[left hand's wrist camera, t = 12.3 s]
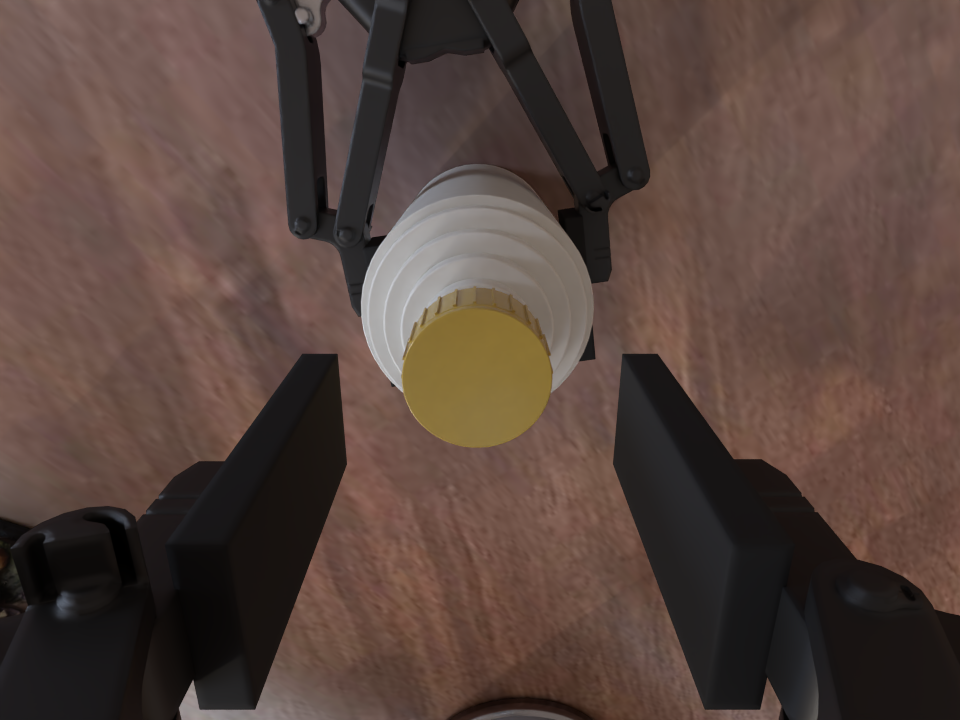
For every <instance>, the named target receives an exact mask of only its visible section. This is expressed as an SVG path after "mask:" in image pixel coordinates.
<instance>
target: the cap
mask: <svg viewBox="0 0 960 720" xmlns="http://www.w3.org/2000/svg"><path fill="white" fill-rule="evenodd" d="M549 356H551V353H550V350H549V347H548V343H547V340H546V337H545V334H542V330H541V327H540V323H539V320H538V318H536V319H535V317H534V316H533V315H532V313H531V312H530V311H529V310H528V306H527V305H526V304H525V305H523V304H522V303H521V302H519V301H518V300H516V299H515V298H513V295H512V294H510V295H508V294H505V293H503V292H500V291H497V290H495V288H492V289H488V288H476V286H473V288H466V289H461V290H458V289H455V291H454V292H451V293H449V294H447V295H445V296H443V297H441V296H439V297H438V299H437V301H435V302H434V303H432V304H431V305H430V306H429V307H428V308H426V307H425V308H424V311H423V314H422V315H421V316H420V318H419V320H418V321H417V322H414V325H413V328H412V331H411V334H410V338H409V339H408V342H407V345H406V348H405V351H404V355H403V358H402V360H404V363H403V368H402V375H401V378H402V387H403V393H404V396H405V400H406V402H407V404H408V406H409V409H410V410H411V412H412V414H413V415H414V417H415V418H416V419H417V420H418V421H419V423H420V424H421V425H422V426H423V427H424V428H426V429H427V430H428V431H429V432H431V433H432V434H433V435H435V436H437V437H438V438H440V439H442V440H444V441H447V442H449V443H452V444H455V445H459V446H465V447H477V448H480V447H490V446H495V445H499V444H502V443H505V442H508V441H510V440H512V439H514V438H516V437H518V436H519V435H521V434H522V433H524V432H525V431H526V430H528V429H529V428H530V427H531V426H532V425H533V424H534V423H535V422H536V421H537V419H538V418H539V417H540V415H541V414H542V413H543V411H544V409H545V407H546V405H547V403H548V400H549V397H550V393H551V389H552V379H553V378H552V374H553V369H552V366H551V362H550V358H549Z"/></svg>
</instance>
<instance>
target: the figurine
mask: <svg viewBox="0 0 960 720" xmlns="http://www.w3.org/2000/svg"><path fill="white" fill-rule="evenodd" d="M29 530H31V529H28V528H25V527H22V526H19V525H16V524H13V523H10V522H6V521H3V520H0V618H5V617H10V616H14V615H18V614H22V613H25V611H26V609H27V607H28V604H27V601H26V598H25V595H24V592H23V589H22V586H21V582H20V579H19V576H18V573H17V570H16V567H15V564H14V560H13V557H12V554H11V551H10V548H11V547H12V546H13V545H14V544H15V543H16V541H17V540H18V539H19V538H20V537H21V536H22V535H23V534H25V533H26V532H28V531H29Z"/></svg>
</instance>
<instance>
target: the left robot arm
mask: <svg viewBox="0 0 960 720" xmlns="http://www.w3.org/2000/svg"><path fill="white" fill-rule="evenodd" d="M346 465H347V459H346V448H345V436H344V424H343V412H342V401H341V389H340V377H339V365H338V354H302V355H301V357H300V358H299V359H298V361H297V362H296V364H295V365H294V366H293V368H292V369H291V370H290V372H289V373H288V375H287V376H286V377H285V379H284V380H283V382H282V383H281V384H280V386H279V387H278V388H277V390H276V391H275V393H274V394H273V395H272V397H271V398H270V400H269V401H268V402H267V404H266V405H265V406H264V408H263V409H262V411H261V412H260V413H259V415H258V416H257V417H256V419H255V420H254V422H253V423H252V424H251V426H250V427H249V429H248V430H247V431H246V433H245V434H244V435H243V437H242V438H241V440H240V441H239V442H238V444H237V445H236V447H235V448H234V449H233V451H232V452H231V453H230V455H229V456H228V458H227V459H226V460H225V461H199V462H197V463H196V464H194V465H192V466H191V467H189V468H188V469H186V470H185V471H183V472H181V473H180V474H178V475H177V476H175V477H174V478H173V479H172V480H171V481H170V483H169V484H168V485H167V486H166V487H165V489H164V490H163V491H162V492H161V493H160V495H159V499H156V500H155V501H154V502H153V503H152V504H151V506H150V507H149V508H148V509H147V510H146V515H142V516H141V518H140V519H139V520H138V521H137V522H136V519H135V516H133V515H132V514H131V513H129V512H128V511H127V510H126V509H121V508H116V507H110V506H104V507H88V508H83V509H79V510H75V511H71V512H67V513H63V514H61V515H59V516H56V517H54V518H51V519H49V520H47V521H44V522H42V523H40V524H38V525H37V526H35V527H34V528H32V529H31V530H29V531H28V532H26V533H25V534H23V535H22V536H21V537H20V538H19V539H18V540H17V541H16V543H15V544H14V545H13V546H12V547H11V548H10V551H11V554H12V557H13V560H14V564H15V567H16V570H17V573H18V576H19V579H20V582H21V586H22V589H23V592H24V595H25V598H26V601H27V604H28V607H27V609H26V611H25V613H22V614H18V615H14V616H10V617H5V618H0V720H181V716H180V711H179V706H180V704H181V702H182V700H183V698H184V696H185V694H186V692H187V690H188V688H189V686H190V685H191V683H192V681H193V680H194V685H195V689H196V694H197V699H198V704H199V708H200V710H255V708H256V706H257V703H258V700H259V698H260V695H261V692H262V690H263V687H264V684H265V682H266V679H267V676H268V674H269V671H270V668H271V666H272V663H273V660H274V658H275V655H276V652H277V650H278V647H279V644H280V642H281V639H282V636H283V634H284V631H285V628H286V626H287V623H288V620H289V618H290V615H291V612H292V610H293V607H294V604H295V602H296V599H297V596H298V593H299V591H300V588H301V585H302V583H303V580H304V577H305V575H306V572H307V569H308V567H309V564H310V561H311V559H312V556H313V553H314V551H315V548H316V545H317V543H318V540H319V537H320V535H321V532H322V529H323V527H324V524H325V521H326V519H327V516H328V513H329V511H330V508H331V505H332V503H333V500H334V497H335V495H336V492H337V489H338V487H339V484H340V481H341V479H342V476H343V473H344V471H345V468H346ZM613 465H614V468H615V471H616V473H617V476H618V479H619V481H620V484H621V487H622V489H623V492H624V495H625V497H626V500H627V503H628V505H629V508H630V511H631V513H632V516H633V519H634V521H635V524H636V527H637V529H638V532H639V535H640V537H641V540H642V543H643V545H644V548H645V551H646V553H647V556H648V559H649V561H650V564H651V567H652V569H653V572H654V575H655V577H656V580H657V583H658V585H659V588H660V591H661V593H662V596H663V599H664V602H665V604H666V607H667V610H668V612H669V615H670V618H671V620H672V623H673V626H674V628H675V631H676V634H677V636H678V639H679V642H680V644H681V647H682V650H683V652H684V655H685V658H686V660H687V663H688V666H689V668H690V671H691V674H692V676H693V679H694V682H695V684H696V687H697V690H698V692H699V695H700V698H701V700H702V703H703V706H704V708H705V710H760V708H761V704H762V699H763V694H764V689H765V685H766V680H767V677H768V679H769V681H770V683H771V685H772V687H773V689H774V691H775V693H776V695H777V697H778V699H779V701H780V703H781V705H782V707H781V711H780V716H779V720H960V616H959V615H955V614H950V613H945V612H942V611H938V610H935V609H934V608H933V606H932V604H931V603H930V601H929V600H928V599H927V597H926V596H925V595H924V593H923V592H922V591H921V590H920V589H919V588H918V587H916V586H915V585H914V584H912V583H911V582H910V581H908V580H907V579H906V578H904V577H903V576H901V575H899V574H897V573H895V572H892V571H890V570H888V569H886V568H884V567H882V566H879V565H875V564H872V563H868V562H864V561H861V560H857V559H856V558H855V557H854V555H853V554H852V553H851V552H850V551H849V549H848V548H847V547H846V546H845V545H844V543H843V542H842V541H841V540H840V539H839V537H838V536H837V535H836V534H835V533H834V531H833V530H832V529H831V528H830V527H829V525H828V524H827V523H826V522H825V521H824V519H823V518H822V517H821V516H820V515H819V513H818V512H814V507H813V506H812V505H811V504H810V503H809V501H808V500H807V499H806V498H805V497H802V495H801V494H802V493H801V492H800V491H799V490H798V488H797V487H796V486H795V485H794V484H793V482H792V481H791V480H790V479H789V478H788V476H787V475H786V474H784V473H782V472H781V471H779V470H778V469H776V468H774V467H773V466H771V465H770V464H768V463H767V462H765V461H763V460H762V459H733V458H732V456H731V455H730V453H729V452H728V451H727V449H726V448H725V447H724V445H723V444H722V442H721V441H720V440H719V438H718V437H717V435H716V434H715V433H714V431H713V430H712V429H711V427H710V426H709V424H708V423H707V422H706V420H705V419H704V417H703V416H702V415H701V413H700V412H699V411H698V409H697V408H696V406H695V405H694V404H693V402H692V401H691V400H690V398H689V397H688V395H687V394H686V393H685V391H684V390H683V388H682V387H681V386H680V384H679V383H678V382H677V380H676V379H675V377H674V376H673V375H672V373H671V372H670V370H669V369H668V368H667V366H666V365H665V364H664V362H663V361H662V359H661V358H660V357H659V355H658V354H622V365H621V377H620V389H619V401H618V412H617V424H616V436H615V448H614V459H613ZM450 720H592V719H591V718H590V717H588V716H587V715H585V714H583V713H581V712H580V711H578V710H575V709H573V708H571V707H568V706H566V705H563V704H559V703H556V702H552V701H547V700H541V699H532V698H512V699H502V700H497V701H491V702H487V703H484V704H480V705H477V706H474V707H472V708H469V709H467V710H465V711H463V712H461V713H459V714H457V715H456V716H454V717H453V718H451V719H450Z"/></svg>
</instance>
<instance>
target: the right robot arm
mask: <svg viewBox="0 0 960 720" xmlns="http://www.w3.org/2000/svg"><path fill="white" fill-rule="evenodd" d="M330 1H331V0H257V3H258V5H259V8H260V10H261V13H262V15H263V18H264V20H265V23H266V25H267V28H268V30H269V33H270V35H271V38H272V40H273V43H274V45H275V54H276V67H277V80H278V93H279V107H280V120H281V133H282V147H283V160H284V173H285V186H286V200H287V213H288V225H289V229H290V231H291V233H292V234H293V235H294V236H296V237H297V238H299V239H309V238H311V239H316V240H321V241H326V242H329V243H331V244H332V245H334V246H335V247H336V248H337V250H338V251H339V253H340V256H341V260H342V265H343V269H344V273H345V278H346V282H347V286H348V291H349V296H350V300H351V305H352V308H353V309H354V311H355V312H356V314H357V315H358V317H360V316H361V298H362V289H363V284H364V280H365V276H366V272H367V270H368V267H369V265H370V262H371V260H372V258H373V256H374V254H375V253H376V251H377V249H378V247H379V246H380V244H381V243H382V242H383V240H384V239H385V238H386V236H387V235H386V236H379V237H372V238H370V233H369V232H370V230H371V228H372V226H371V221H372V217H373V212H374V207H375V202H376V198H377V193H378V188H379V184H380V179H381V174H382V170H383V165H384V160H385V156H386V151H387V146H388V141H389V137H390V132H391V127H392V123H393V118H394V113H395V109H396V104H397V99H398V95H399V91H400V88H401V85H402V82H403V78H404V73H405V68H406V64H407V62H409V63H411V64H417V63H423V62H429V61H431V60H433V59H435V58H438V57H440V56H442V55H444V54H446V53H451V54H458V55H473V54H479V53H484V50H486V49H488V48H489V50H490V51H491V53H492V55H493V57H494V59H495V60H496V62H497V64H498V66H499V67H500V69H501V70H502V72H503V73H504V75H505V77H506V79H507V80H508V82H509V84H510V86H511V87H512V89H513V91H514V93H515V95H516V96H517V98H518V100H519V102H520V104H521V105H522V107H523V109H524V111H525V112H526V114H527V116H528V118H529V120H530V121H531V123H532V125H533V127H534V129H535V130H536V132H537V134H538V136H539V138H540V139H541V141H542V143H543V145H544V146H545V148H546V150H547V152H548V154H549V155H550V157H551V159H552V161H553V163H554V164H555V166H556V168H557V170H558V171H559V173H560V175H561V177H562V179H563V180H564V182H565V184H566V186H567V188H568V189H569V191H570V193H571V195H572V196H573V198H574V205H575V208H569V209H562V210H558V218H559V224H560V226H561V227H562V228H563V230H564V231H565V232H566V234H567V235H568V236H569V238H570V239H571V241H572V242H573V244H574V245H575V247H576V248H577V250H578V251H579V253H580V255H581V257H582V259H583V261H584V263H585V265H586V268H587V271H588V274H589V277H590V280H591V283H598V282H605V281H608V280H609V277H610V273H611V270H612V267H611V253H610V240H609V227H608V211H609V208H610V206H611V204H612V203H613V202H614V201H615V200H616V199H618V198H619V197H621V196H623V195H625V194H627V193H629V192H631V191H633V190H639V189H641V188H643V187H644V186H645V185H646V184H647V183H648V181H649V178H650V169H649V165H648V160H647V156H646V151H645V147H644V143H643V138H642V134H641V129H640V125H639V121H638V116H637V112H636V107H635V103H634V99H633V94H632V90H631V85H630V81H629V77H628V72H627V68H626V63H625V59H624V55H623V50H622V46H621V41H620V37H619V33H618V28H617V24H616V19H615V15H614V11H613V6H612V2H611V0H570V6H571V15H572V21H573V26H574V30H575V34H576V38H577V42H578V46H579V50H580V54H581V58H582V62H583V66H584V70H585V74H586V78H587V82H588V86H589V90H590V94H591V98H592V102H593V106H594V110H595V114H596V118H597V122H598V126H599V130H600V134H601V138H602V142H603V146H604V150H605V154H606V158H607V162H608V166H607V167H605V168H603V169H601V170H599V171H598V172H597V171H596V169H595V167H594V165H593V164H592V162H591V160H590V158H589V156H588V154H587V153H586V151H585V149H584V147H583V145H582V143H581V141H580V140H579V138H578V136H577V134H576V132H575V130H574V128H573V127H572V125H571V123H570V121H569V119H568V117H567V115H566V114H565V112H564V110H563V108H562V106H561V104H560V102H559V101H558V99H557V97H556V95H555V93H554V91H553V89H552V88H551V86H550V84H549V82H548V80H547V78H546V77H545V75H544V73H543V71H542V69H541V67H540V65H539V64H538V62H537V60H536V58H535V56H534V54H533V52H532V50H531V47H530V45H529V42H528V40H527V38H526V36H525V34H524V33H523V31H522V29H521V27H520V25H519V23H518V21H517V20H516V18H515V16H514V14H513V11H514V9H515V7H516V5H517V3H518V1H519V0H339V2H340V3H341V4H342V5H343V6H344V7H345V8H346V9H347V10H348V11H349V12H350V13H351V14H352V16H353V17H354V18H355V19H356V20H357V21H358V22H359V23H360V24H361V25H362V26H363V27H364V28H365V30H366V31H367V32H368V33H369V38H368V43H367V48H366V53H365V58H364V64H363V72H362V74H363V80H362V86H361V91H360V96H359V101H358V107H357V112H356V117H355V122H354V127H353V132H352V137H351V143H350V148H349V153H348V158H347V163H346V168H345V174H344V179H343V184H342V189H341V194H340V199H339V205H338V210H335V209H330V208H328V191H327V172H326V153H325V135H324V116H323V97H322V78H321V63H320V53H319V49H318V44H317V40H316V37H318V36H320V35H321V34H322V33H323V32H324V30H325V28H326V15H325V11H326V7H327V5H328V3H329V2H330ZM592 359H595V349H594V337H593V326H592V328H591V332H590V336H589V340H588V342H587V345H586V347H585V350H584V352H583V354H582V356H581V358H580V360H579V361H585V360H592ZM391 386H392V387H394V386H395V385H394V384H393V383H392V382H391Z"/></svg>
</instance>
